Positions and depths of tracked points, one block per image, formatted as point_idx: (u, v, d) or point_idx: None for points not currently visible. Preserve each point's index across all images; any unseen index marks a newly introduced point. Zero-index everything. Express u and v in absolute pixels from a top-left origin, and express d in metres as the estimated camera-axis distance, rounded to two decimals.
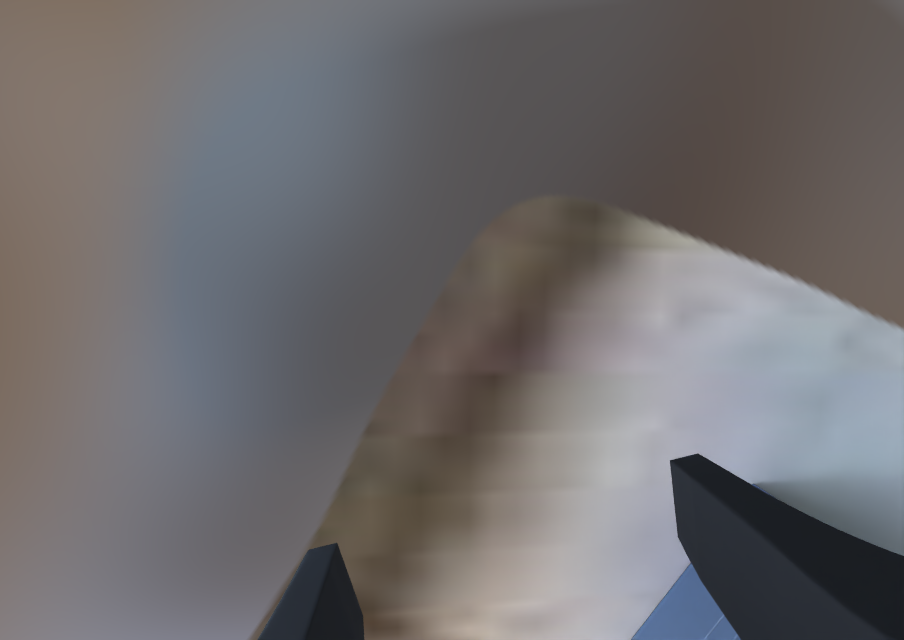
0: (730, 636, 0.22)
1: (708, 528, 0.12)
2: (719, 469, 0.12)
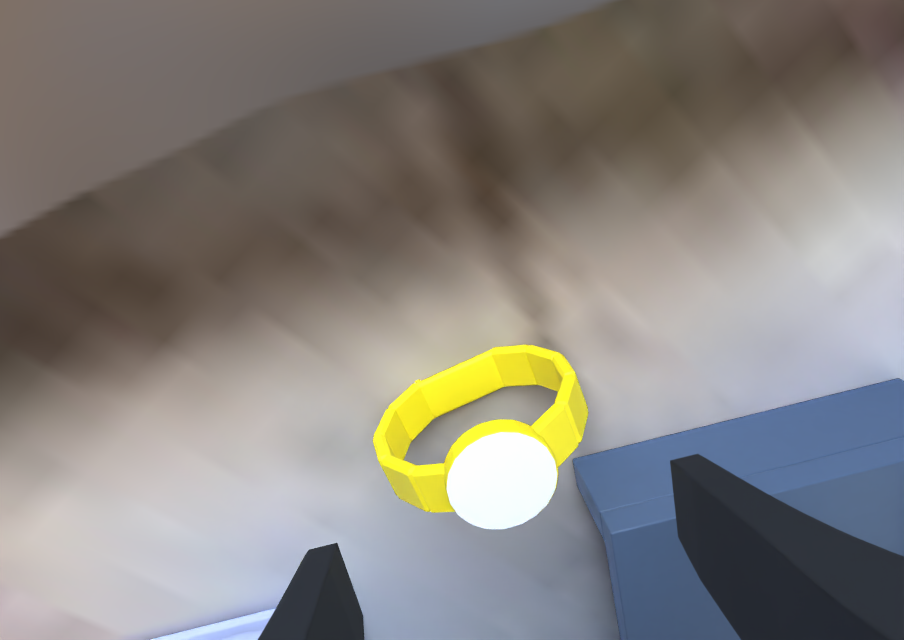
0: (846, 469, 0.19)
1: (708, 528, 0.12)
2: (720, 469, 0.12)
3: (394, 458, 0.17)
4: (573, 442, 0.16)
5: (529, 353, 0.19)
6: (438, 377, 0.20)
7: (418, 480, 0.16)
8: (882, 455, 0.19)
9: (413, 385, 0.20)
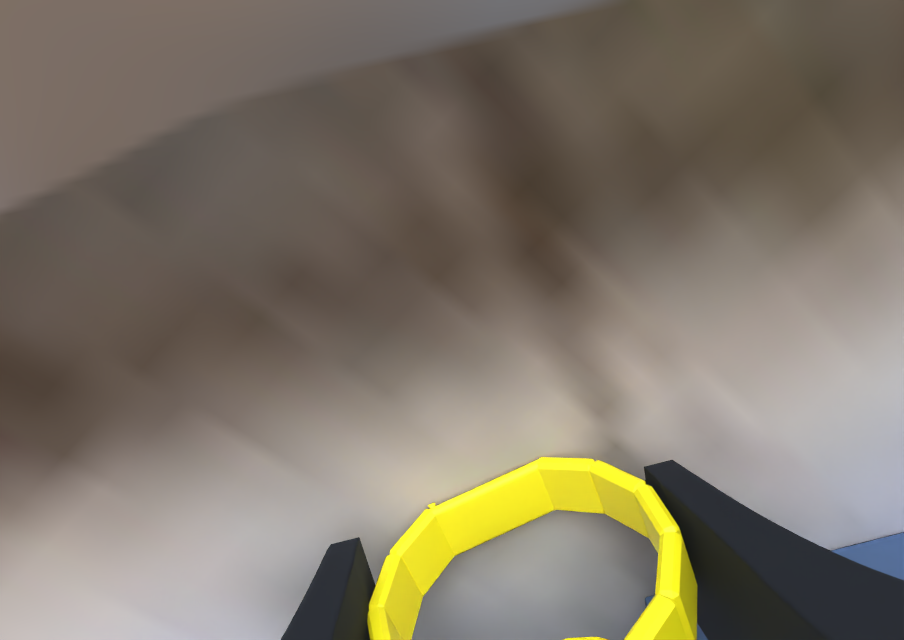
0: None
1: None
2: (691, 476, 0.12)
3: None
4: None
5: (596, 474, 0.13)
6: (461, 501, 0.14)
7: None
8: None
9: (425, 513, 0.14)
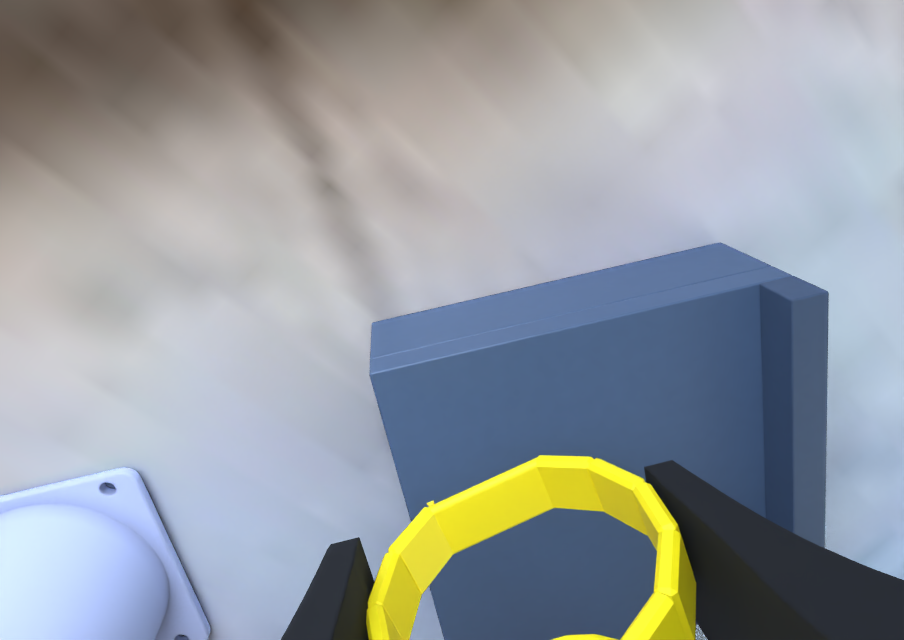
0: (627, 310, 0.17)
1: None
2: (691, 476, 0.12)
3: None
4: None
5: (595, 472, 0.13)
6: (460, 499, 0.14)
7: None
8: (667, 298, 0.18)
9: (424, 511, 0.14)
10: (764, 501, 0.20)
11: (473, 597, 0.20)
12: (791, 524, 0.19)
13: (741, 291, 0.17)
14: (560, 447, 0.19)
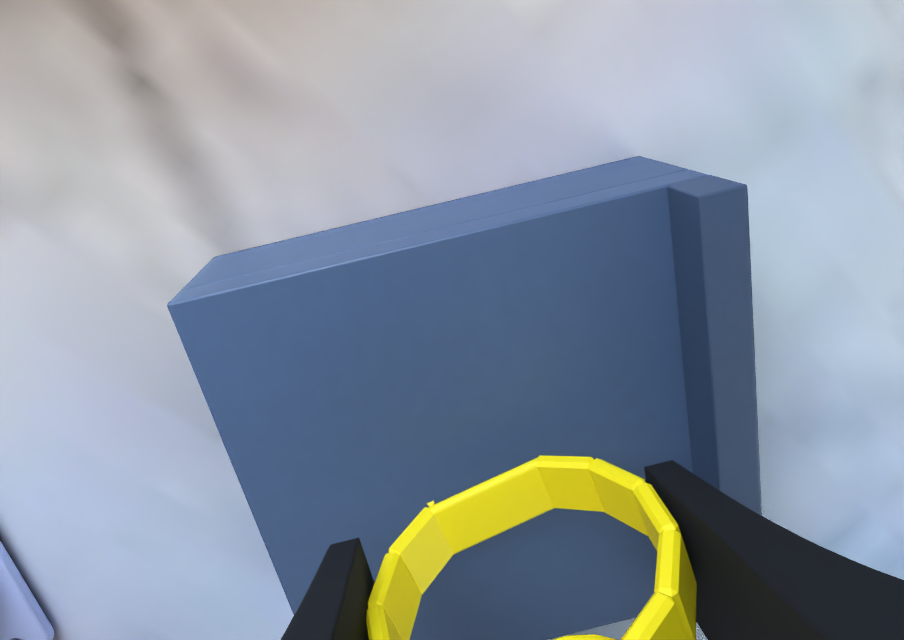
0: (498, 222, 0.14)
1: None
2: (691, 477, 0.12)
3: None
4: None
5: (595, 472, 0.13)
6: (460, 499, 0.14)
7: None
8: (552, 207, 0.14)
9: (424, 511, 0.14)
10: (692, 469, 0.16)
11: None
12: None
13: (643, 195, 0.14)
14: (426, 401, 0.15)
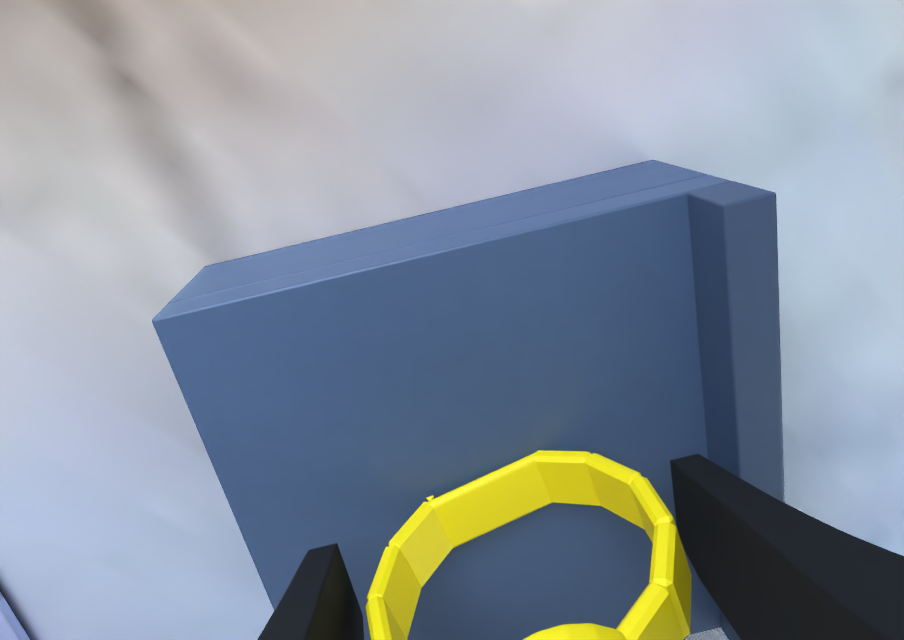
0: (506, 232, 0.13)
1: (708, 528, 0.12)
2: (719, 469, 0.12)
3: None
4: None
5: (592, 467, 0.13)
6: (459, 494, 0.14)
7: None
8: (563, 215, 0.13)
9: (424, 505, 0.14)
10: None
11: None
12: None
13: (662, 203, 0.13)
14: (429, 421, 0.14)
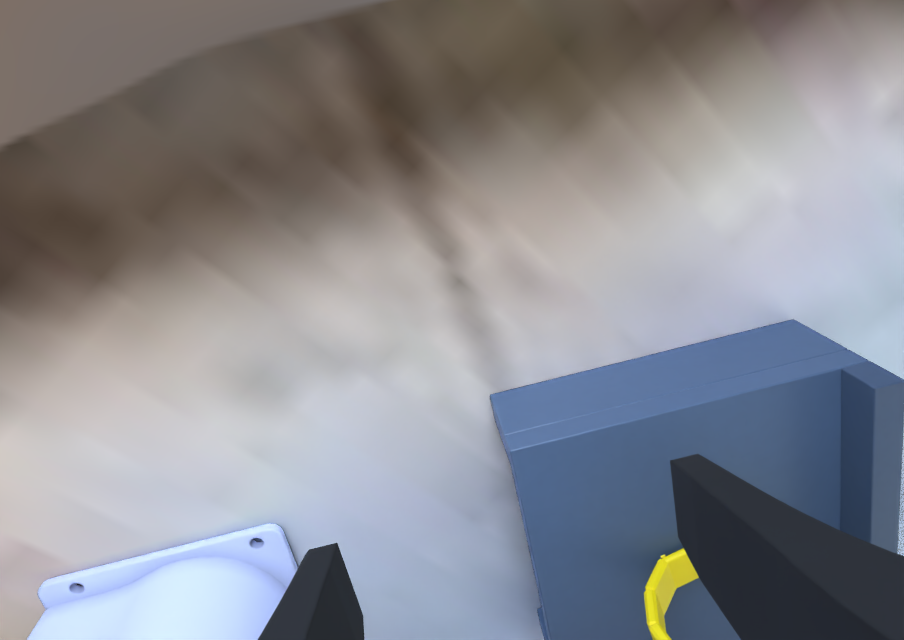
0: (727, 392, 0.20)
1: (708, 528, 0.12)
2: (719, 470, 0.12)
3: None
4: None
5: None
6: (684, 554, 0.22)
7: None
8: (761, 380, 0.21)
9: (661, 561, 0.22)
10: None
11: (585, 636, 0.23)
12: None
13: (825, 374, 0.20)
14: (666, 507, 0.21)
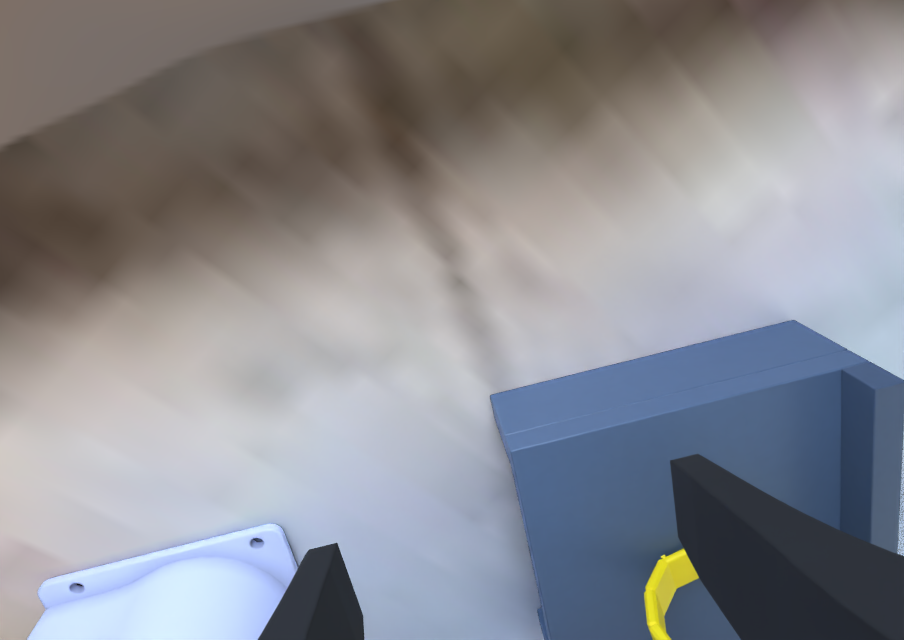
0: (728, 393, 0.20)
1: (708, 528, 0.12)
2: (719, 469, 0.12)
3: None
4: None
5: None
6: (684, 554, 0.22)
7: None
8: (761, 381, 0.21)
9: (661, 562, 0.22)
10: None
11: (585, 636, 0.23)
12: None
13: (825, 375, 0.20)
14: (667, 508, 0.21)
